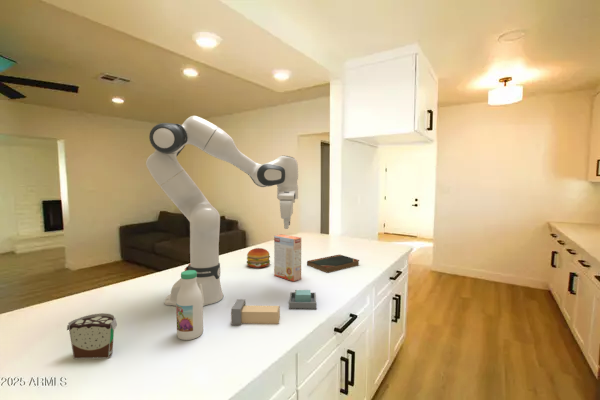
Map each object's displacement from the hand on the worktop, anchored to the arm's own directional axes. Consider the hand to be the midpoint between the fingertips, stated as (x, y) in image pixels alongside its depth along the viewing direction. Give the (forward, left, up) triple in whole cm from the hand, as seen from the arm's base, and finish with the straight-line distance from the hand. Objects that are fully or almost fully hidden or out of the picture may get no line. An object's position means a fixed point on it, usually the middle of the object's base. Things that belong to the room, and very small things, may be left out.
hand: (287, 226), depth 125 cm
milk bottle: (-28, -35, -29) cm, 54 cm away
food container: (-50, -46, -29) cm, 74 cm away
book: (+24, +41, -29) cm, 56 cm away
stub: (+7, -11, -28) cm, 31 cm away
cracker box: (-1, +19, -29) cm, 35 cm away
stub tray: (+7, -12, -29) cm, 32 cm away
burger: (-19, +40, -29) cm, 52 cm away
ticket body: (-9, -25, -29) cm, 39 cm away
